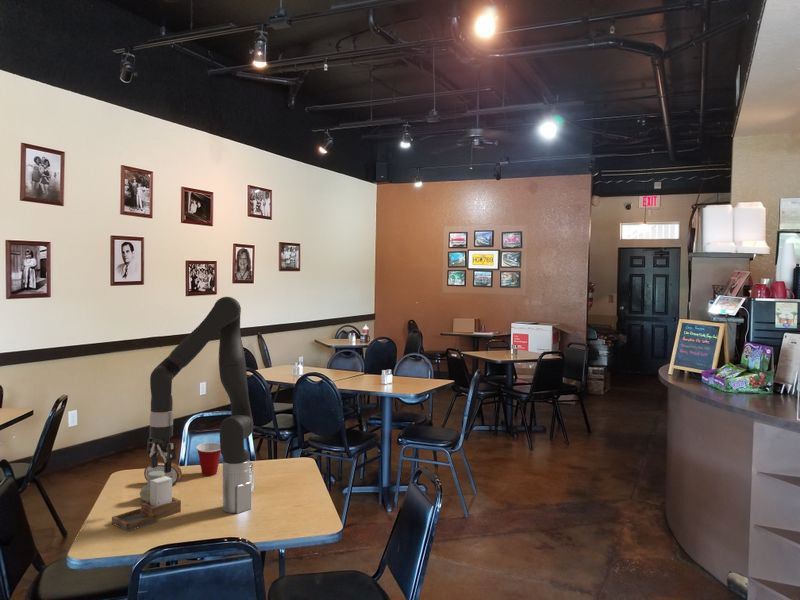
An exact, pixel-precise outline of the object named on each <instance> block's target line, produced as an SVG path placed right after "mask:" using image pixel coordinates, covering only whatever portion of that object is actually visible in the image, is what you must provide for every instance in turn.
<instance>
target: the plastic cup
mask: <svg viewBox="0 0 800 600" xmlns="http://www.w3.org/2000/svg"><path fill="white" fill-rule="evenodd" d="M195 449H196V451H197V453H198V459H199V464H200V470H201V475H202V476H204V477H212V476H216V475H217V472H218V469H219V466H220V465H219V463H220V460H221V459H220V457H221V451H220V442H205V443H200V444H198V445H196V447H195Z"/></svg>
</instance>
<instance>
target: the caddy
mask: <svg viewBox="0 0 800 600" xmlns="http://www.w3.org/2000/svg"><path fill="white" fill-rule="evenodd" d="M181 501H182V500H181V499H178V498H175V497H174V496H172V502H170V503H167V504H164V505H161V506H158V507H153V506H151V505H150V501H148V502H147V501H145V502H142V503H140V505H141V508H138V509H137V508H136V509H133V510H130V511H127V512H124V513H120V514H117V515H114V516H112V517H111V524H112V523H114V524H116V525H118V526H120V527H122V528H123V529H122V528H121V529H122V530H124V529H125V530H124V531H126V530H127V531H126V532H129V531H128V530H130V531H132V530H131V529H133V530H135V529H134V528H136V529H138V528H137V527H139V528H141V526H142V527H145V526H147V525H151V524H153V523H154V524H155V523H156V522H157V521H158V520H159V519H163V518H166V517H169V516H172V515H175V514H179V513H181V511H182V510H181V509H182V505H181V504H182V502H181ZM114 524H113V525H114ZM116 525H115V526H116ZM118 526H117V527H118ZM120 527H119V528H120Z"/></svg>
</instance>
